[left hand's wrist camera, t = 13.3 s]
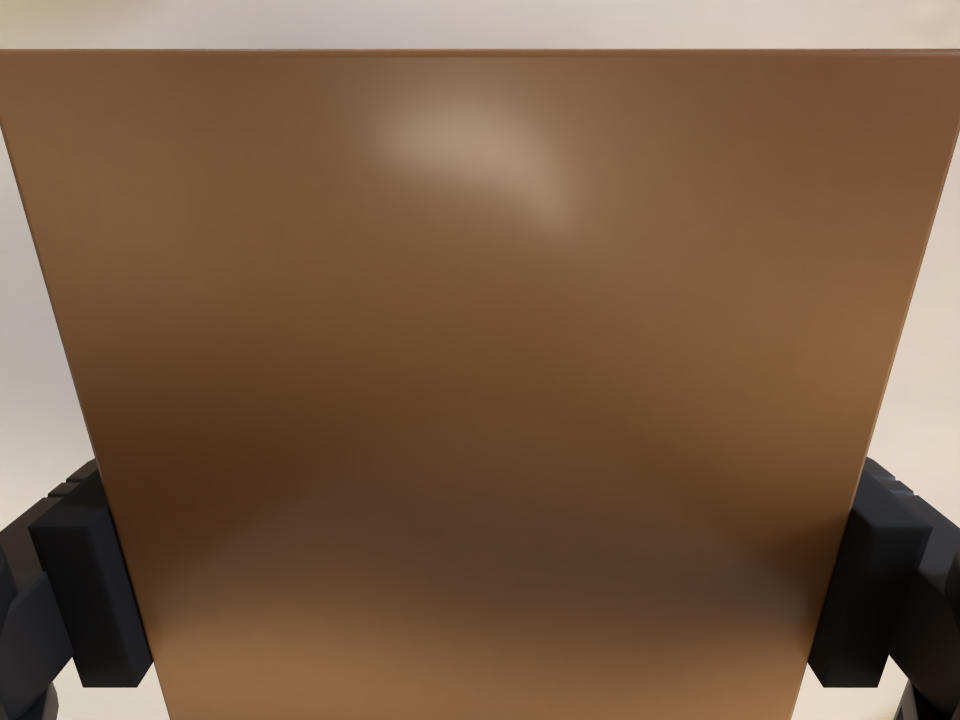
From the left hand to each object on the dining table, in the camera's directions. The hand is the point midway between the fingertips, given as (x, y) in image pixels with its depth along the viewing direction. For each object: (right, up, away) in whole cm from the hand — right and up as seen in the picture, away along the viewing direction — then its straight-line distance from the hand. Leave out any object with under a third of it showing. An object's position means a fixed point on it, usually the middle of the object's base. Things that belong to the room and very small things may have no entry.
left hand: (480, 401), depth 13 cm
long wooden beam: (0, -22, +9) cm, 23 cm away
